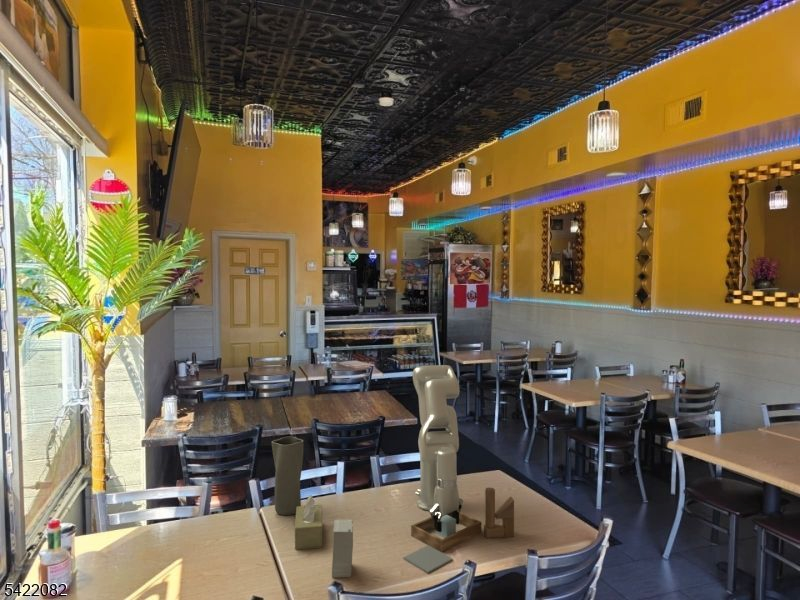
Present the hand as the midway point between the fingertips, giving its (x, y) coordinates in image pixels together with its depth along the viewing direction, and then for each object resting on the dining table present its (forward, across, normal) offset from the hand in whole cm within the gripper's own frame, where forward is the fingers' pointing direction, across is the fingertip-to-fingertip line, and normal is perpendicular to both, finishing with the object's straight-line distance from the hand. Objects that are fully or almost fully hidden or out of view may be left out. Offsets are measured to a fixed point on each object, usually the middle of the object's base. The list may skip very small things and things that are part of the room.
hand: (447, 526), depth 193 cm
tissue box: (+3, +40, -35) cm, 53 cm away
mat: (+4, +18, +7) cm, 19 cm away
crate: (+3, 0, -1) cm, 3 cm away
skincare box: (+4, +44, -7) cm, 44 cm away
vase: (+2, +35, -59) cm, 68 cm away
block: (+3, 0, -1) cm, 3 cm away
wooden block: (+3, -14, +13) cm, 20 cm away
